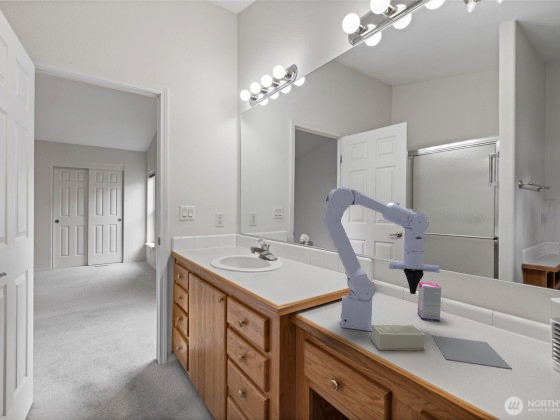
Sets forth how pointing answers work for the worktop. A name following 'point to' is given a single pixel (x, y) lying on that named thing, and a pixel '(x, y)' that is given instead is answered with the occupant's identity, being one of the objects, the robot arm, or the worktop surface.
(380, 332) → the skincare box
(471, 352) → the rubber mat
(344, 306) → the robot arm
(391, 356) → the worktop surface
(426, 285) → the supplement box
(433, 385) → the worktop surface
